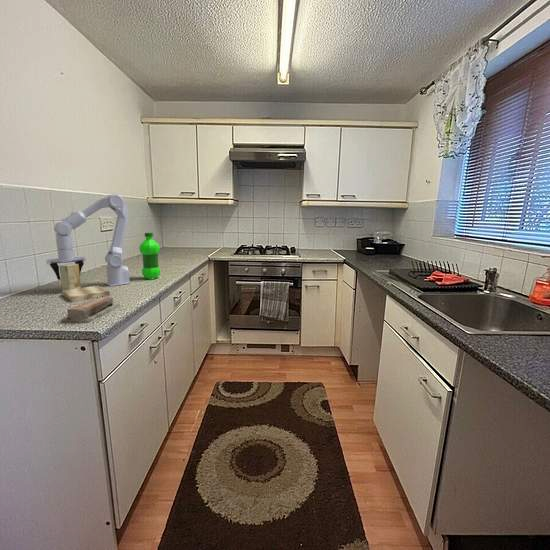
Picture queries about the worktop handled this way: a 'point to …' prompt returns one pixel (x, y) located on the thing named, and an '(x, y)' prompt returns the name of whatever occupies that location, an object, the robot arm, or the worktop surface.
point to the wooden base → (85, 293)
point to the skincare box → (70, 276)
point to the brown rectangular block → (91, 309)
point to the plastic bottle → (150, 257)
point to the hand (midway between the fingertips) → (68, 278)
